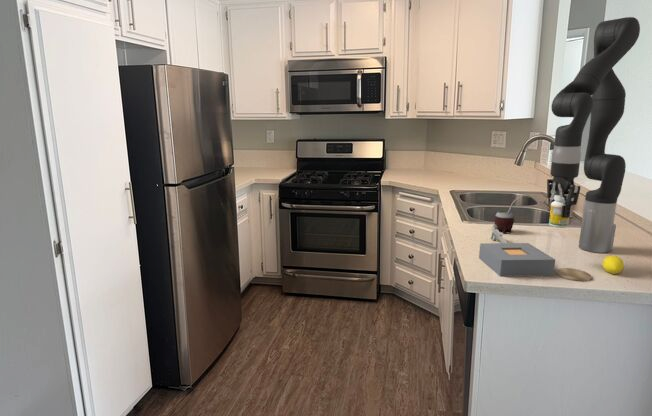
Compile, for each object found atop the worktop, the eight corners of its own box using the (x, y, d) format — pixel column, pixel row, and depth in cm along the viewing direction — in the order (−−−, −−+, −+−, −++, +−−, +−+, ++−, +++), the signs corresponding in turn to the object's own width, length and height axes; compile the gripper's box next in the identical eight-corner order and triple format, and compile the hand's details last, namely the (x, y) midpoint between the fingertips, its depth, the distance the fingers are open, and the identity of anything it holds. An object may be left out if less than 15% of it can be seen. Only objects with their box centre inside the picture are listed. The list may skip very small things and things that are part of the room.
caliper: (490, 239, 163) (491, 223, 161) (493, 239, 163) (494, 223, 161) (514, 257, 143) (516, 239, 141) (517, 257, 143) (519, 239, 141)
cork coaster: (578, 269, 131) (579, 267, 131) (598, 281, 123) (598, 279, 122) (550, 270, 131) (550, 268, 131) (567, 281, 122) (567, 279, 122)
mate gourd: (492, 229, 176) (495, 193, 173) (512, 230, 174) (516, 194, 171) (495, 234, 169) (498, 196, 165) (516, 235, 167) (520, 197, 164)
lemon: (624, 279, 126) (628, 262, 124) (603, 276, 127) (606, 260, 126) (618, 268, 132) (622, 252, 130) (598, 265, 134) (601, 250, 132)
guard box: (526, 257, 142) (528, 243, 141) (553, 275, 127) (555, 259, 125) (478, 257, 142) (480, 243, 140) (499, 276, 126) (501, 260, 125)
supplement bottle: (564, 229, 131) (568, 198, 129) (545, 226, 135) (549, 196, 133) (570, 225, 135) (574, 195, 132) (552, 222, 138) (555, 193, 136)
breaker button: (519, 254, 136) (520, 249, 136) (528, 260, 131) (528, 255, 130) (502, 254, 136) (502, 249, 136) (510, 260, 131) (510, 255, 130)
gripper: (593, 163, 123) (585, 220, 127) (563, 157, 137) (558, 209, 141) (567, 164, 123) (561, 221, 127) (540, 158, 137) (535, 210, 141)
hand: (559, 214), depth 134 cm, fingers closed on supplement bottle, 5 cm apart
